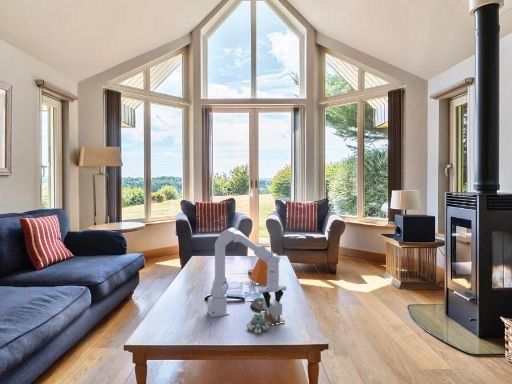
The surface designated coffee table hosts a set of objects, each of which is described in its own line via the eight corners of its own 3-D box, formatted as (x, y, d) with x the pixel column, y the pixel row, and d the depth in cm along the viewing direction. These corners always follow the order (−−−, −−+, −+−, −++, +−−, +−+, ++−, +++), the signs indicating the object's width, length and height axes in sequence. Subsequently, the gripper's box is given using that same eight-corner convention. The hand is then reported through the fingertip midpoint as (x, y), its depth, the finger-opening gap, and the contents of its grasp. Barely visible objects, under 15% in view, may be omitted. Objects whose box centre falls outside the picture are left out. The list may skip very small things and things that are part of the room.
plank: (273, 316, 156) (274, 305, 156) (262, 307, 167) (262, 297, 167) (282, 314, 158) (282, 304, 158) (270, 305, 169) (270, 296, 168)
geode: (276, 300, 189) (250, 300, 188) (276, 293, 189) (250, 293, 188) (279, 314, 170) (250, 313, 170) (279, 306, 170) (250, 306, 169)
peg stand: (272, 325, 155) (272, 317, 155) (260, 315, 167) (260, 307, 166) (284, 323, 158) (285, 314, 158) (272, 313, 170) (272, 305, 169)
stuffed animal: (245, 323, 144) (247, 308, 156) (245, 338, 146) (247, 321, 158) (270, 324, 144) (269, 308, 156) (269, 338, 146) (269, 322, 157)
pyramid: (248, 278, 229) (249, 249, 228) (270, 276, 234) (270, 248, 233) (255, 285, 214) (256, 255, 213) (278, 283, 219) (278, 253, 218)
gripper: (263, 283, 155) (262, 311, 155) (289, 279, 161) (289, 306, 161) (256, 278, 161) (256, 306, 162) (282, 275, 167) (282, 302, 168)
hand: (272, 306), depth 162 cm, fingers closed on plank, 4 cm apart
